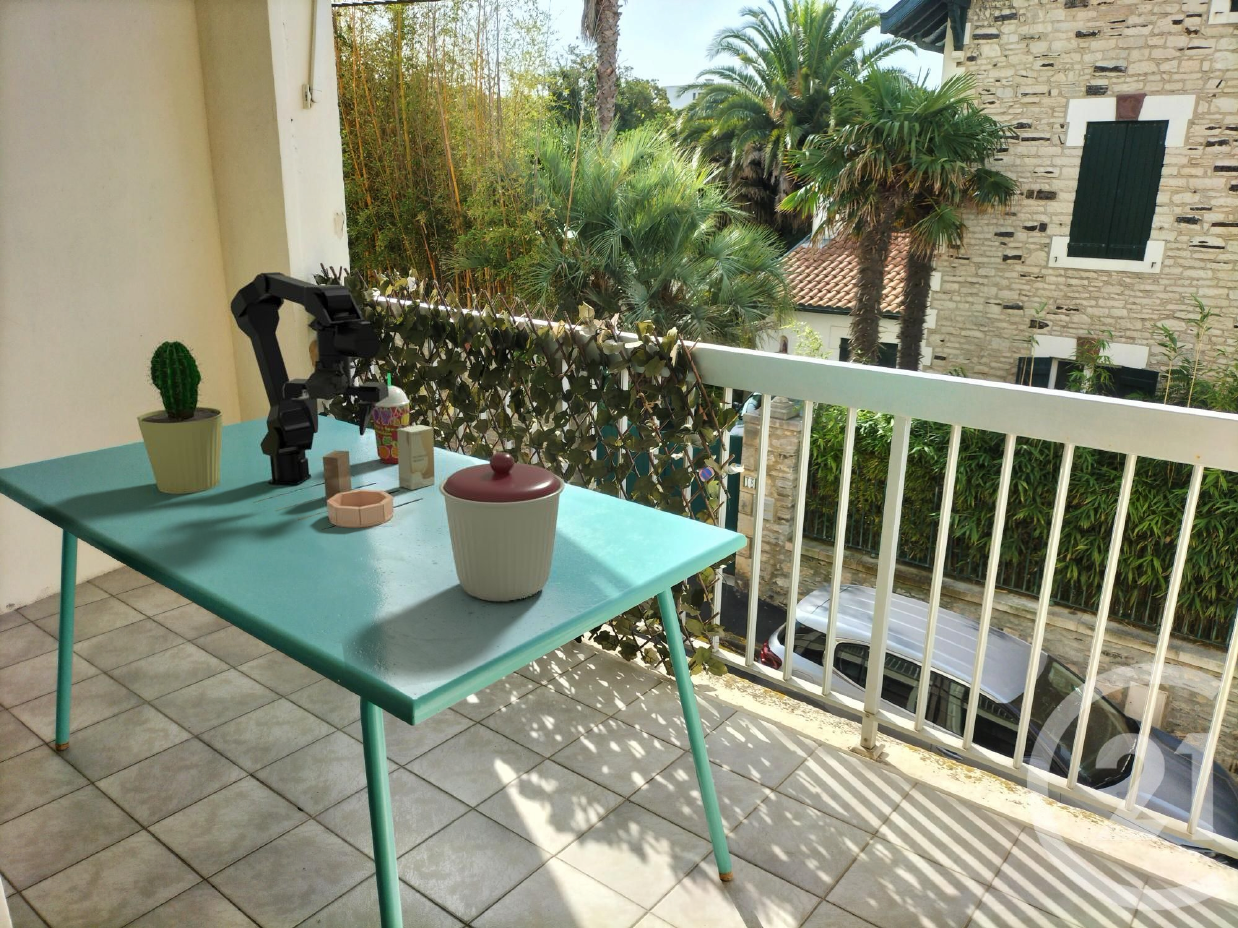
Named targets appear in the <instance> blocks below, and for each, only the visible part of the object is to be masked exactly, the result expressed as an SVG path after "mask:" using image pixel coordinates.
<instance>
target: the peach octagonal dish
mask: <svg viewBox="0 0 1238 928" xmlns="http://www.w3.org/2000/svg"><path fill="white" fill-rule="evenodd" d="M326 504H327V517H328V518H329V522H330V523H331V524H332V525H333V526H337V527H341V528H348V529H351V528H352V529H357V528H358V529H359V528H368V527H375V526H379V525H382V524H385V523H387V522H388V521H390V520H392V518H393V516H394V510H395V509H394V497H393V495H391V494H389V493H387V492H386V491H385V490H378V489H355V490H352V491H349V492H343V493H338V494H336V495H335V496H333V497H332V498H330V499H329V500H327V502H326Z"/></svg>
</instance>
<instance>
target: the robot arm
mask: <svg viewBox="0 0 1238 928" xmlns="http://www.w3.org/2000/svg"><path fill="white" fill-rule="evenodd" d="M285 300H286V301H289V302H292V303H295V304H298V305H301V306H302V307H304V310H305V312H306V313H308V314H309V315H311V316H312V317H314V319H313V320H312V321H311V322H310V323H309V325H308V327H309V328H311V329H315V331H316V332H315V333H316V334H315V335H316V346H317V360H315V361H314V362H315V364H314V366H315V367H314V368H315V369H314V372H312V373H311V374H310V376H309V377H308V378H294V379H291V380H290V378H289V375H288V372H287V368H286V364H285V361H284V357H283V354H282V350H281V348H280V347H281V346H280V344H279V340H278V337H277V330H278V327H279V326H278V325H279V322H280V320H281V319H280V313H279V310H280V309H281V308H282V306H284V304H285ZM230 312H231V313H232V315H233V317H234V320H235V323H236V325H237V327H238V329H240V330H241V332H243V333H244V334H245V335H246V337H248V338H249V339H250V343H251V345H252V349H253V352H254V356H255V359H256V363H257V366H258V369H259V372H260V376H261V380H262V383H263V387H264V389H265V393H266V397H267V399H268V403H269V408H270V409H269V412H268V415H267V419H266V428H267V432H266V434H265V435H264V437H263V439H262V440H261V441H260V449H261V452H262V454H263V455H266V456H268V457H269V461H270V471H271V472H270V474H271V478H270V479H269V480H267V483H268V484H275V485H289V486H290V485H292V486H293V485H294V486H297V485H299V484H301V483H303V482H305V481H306V480H309V478H311V477H312V474H311V473H310V468H309V459H308V457H307V456H306V451H310V450H312V448H313V442H314V436H315V434H317V433H318V432H319V413H318V412H319V409H318V400H324V401H331V400H334V399H335V398H336V396H349V397H351V396H352V397H354V396H355V397H356V396H357V398H358V399H359V400H360V401H359V402H357V403H356V404H357V408H358V410H359V411H358V412H359V413H358V414H359V417H358V418H359V422H358V429H359V430H358V431H359V436H364V434H365V432H366V429H367V427H368V424H369V421H370V418H371V415H372V414H373V412H372V411H373V409H374V407H375V405H376V404H377V403H379V402H380V401H382V400H383V399H385V398H387V397H388V396H389V392H388V384H386V382H385V381H384V382H382V381H381V382H380V381H366V382H364V383H363V384H360V385H353V384H354V381H355V380H354V377H352V374H351V373H352V372H351V364H352V363H353V358H354V359H357V360H358V359H359V360H365V361H370V360H372V359H373V358H375V357H377V355H378V354H379V352H380V349H381V339H380V338H379V334H377V332H376V331H375V330H374V329H372V328H371V322H370V321H365V319H364V317H363V312H362V311H361V309H360V308H359V307H358V305H357V302H356V301H355V299H354V297H353V295H352V293H351V292H350V289H349V287H347V286H346V285H341V284H340V285H339V284H326V285H325V284H321V285H320V284H314V283H312V282H308V281H304V280H301V279H298V278H296V277H291V276H288V275H285V274H284V273H283V272H282V273H281V272H280V271H279V272H277V271H276V272H261V273H259V274H257V275H256V276H255V278H254V279H253V280H252V281H251V282H249V283H247V284H246V285H244V286H243V287H241V288H240V289H238V291H237V292H236V294H235V295H234V297H233V299H232V300H231V301H230Z"/></svg>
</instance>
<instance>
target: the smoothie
mask: <svg viewBox="0 0 1238 928" xmlns="http://www.w3.org/2000/svg"><path fill="white" fill-rule="evenodd" d="M386 375H387V386H388V392H389V396H388V397H387V398H385V399H383V400H382V401H380V402H379V403H377V404H376V405H375V407H374V409H373V411H372V420H373V427H374V435H375V443H376V450H377V452H376V453H377V456H378V457H379V459H380V462H382V463H383V462H384V464H390V463H391V464H392V463H394V464H398V434H397V429H401V428H406V427H410V400H409V398H408V395H406V393H405V392H404V391H403V390H402V388H400V387H398V386H395V385H392V383H391V382H392V381H391V380H392V379H391V373H388V372H387V374H386Z"/></svg>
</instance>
